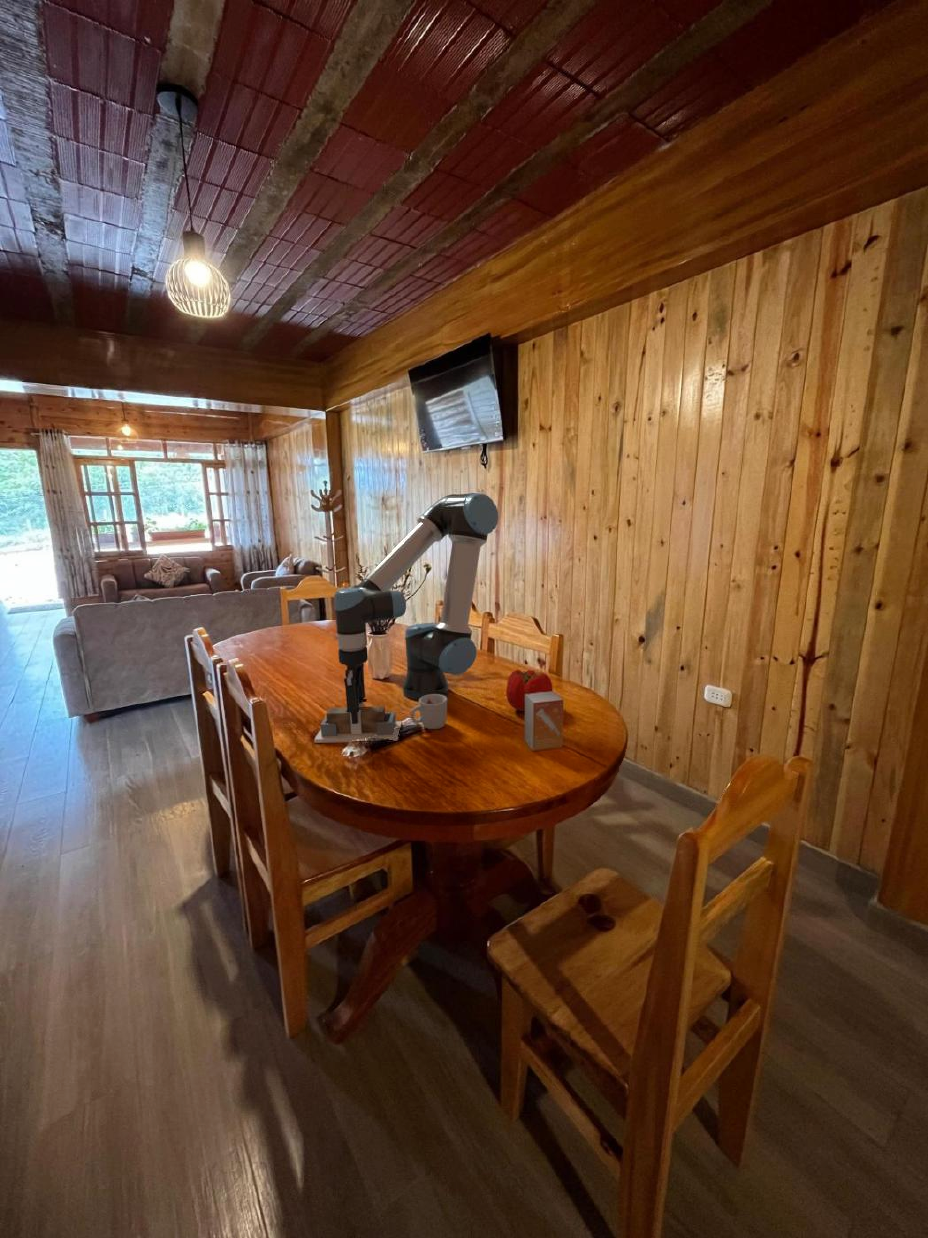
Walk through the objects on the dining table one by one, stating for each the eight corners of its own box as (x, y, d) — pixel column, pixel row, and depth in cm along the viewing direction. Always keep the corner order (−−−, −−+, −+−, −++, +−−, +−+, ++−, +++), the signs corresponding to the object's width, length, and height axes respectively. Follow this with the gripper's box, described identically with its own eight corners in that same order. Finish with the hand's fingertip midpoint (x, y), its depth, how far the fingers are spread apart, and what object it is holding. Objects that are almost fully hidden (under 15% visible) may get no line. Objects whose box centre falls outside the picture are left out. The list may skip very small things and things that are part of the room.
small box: (532, 752, 125) (533, 703, 122) (524, 740, 131) (524, 693, 128) (563, 747, 126) (564, 699, 123) (553, 736, 132) (553, 690, 130)
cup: (417, 737, 135) (415, 709, 133) (406, 726, 141) (404, 699, 140) (453, 727, 139) (452, 700, 138) (441, 717, 146) (440, 691, 144)
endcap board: (402, 724, 142) (401, 709, 141) (397, 740, 133) (396, 725, 132) (324, 726, 143) (323, 711, 142) (314, 742, 133) (313, 727, 132)
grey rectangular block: (386, 726, 139) (384, 706, 138) (383, 732, 135) (382, 712, 134) (332, 727, 139) (330, 707, 138) (328, 734, 135) (326, 713, 134)
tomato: (560, 706, 152) (560, 670, 149) (532, 722, 141) (532, 683, 139) (524, 696, 160) (524, 661, 158) (496, 710, 150) (495, 673, 148)
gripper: (345, 639, 140) (351, 716, 146) (329, 657, 124) (337, 744, 129) (372, 638, 140) (377, 716, 146) (360, 656, 124) (366, 743, 129)
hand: (358, 729), depth 137 cm, fingers open, 4 cm apart
